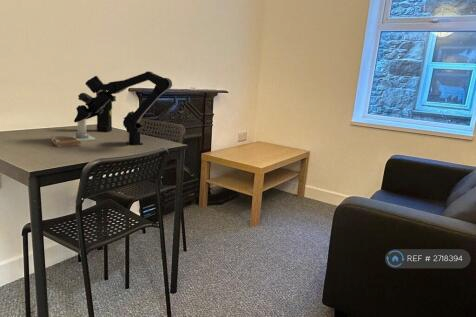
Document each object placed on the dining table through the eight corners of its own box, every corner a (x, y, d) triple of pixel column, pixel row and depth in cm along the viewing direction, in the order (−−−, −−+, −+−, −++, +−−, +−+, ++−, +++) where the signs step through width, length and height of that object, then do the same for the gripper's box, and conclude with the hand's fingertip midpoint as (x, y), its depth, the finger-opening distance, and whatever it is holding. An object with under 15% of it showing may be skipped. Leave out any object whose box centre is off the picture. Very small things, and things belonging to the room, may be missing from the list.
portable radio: (114, 130, 203) (114, 87, 197) (109, 132, 197) (109, 88, 191) (101, 129, 204) (100, 86, 198) (96, 131, 198) (95, 86, 192)
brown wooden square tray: (80, 145, 162) (80, 140, 161) (57, 147, 155) (57, 141, 155) (74, 141, 169) (74, 136, 169) (52, 142, 163) (51, 137, 162)
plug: (87, 139, 174) (86, 111, 170) (74, 138, 172) (73, 110, 169) (89, 136, 179) (89, 109, 176) (77, 136, 178) (76, 108, 175)
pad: (95, 140, 176) (95, 138, 175) (74, 141, 169) (74, 140, 169) (89, 136, 183) (89, 135, 183) (68, 137, 176) (68, 136, 176)
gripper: (97, 87, 179) (76, 106, 182) (79, 88, 161) (57, 110, 163) (112, 103, 181) (91, 122, 183) (96, 107, 162) (74, 128, 165)
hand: (79, 120), depth 174 cm, fingers open, 9 cm apart
